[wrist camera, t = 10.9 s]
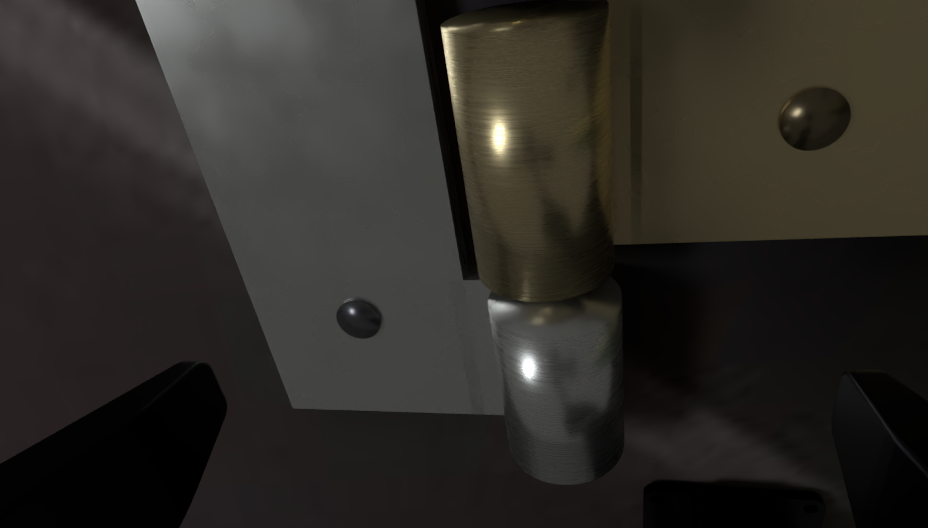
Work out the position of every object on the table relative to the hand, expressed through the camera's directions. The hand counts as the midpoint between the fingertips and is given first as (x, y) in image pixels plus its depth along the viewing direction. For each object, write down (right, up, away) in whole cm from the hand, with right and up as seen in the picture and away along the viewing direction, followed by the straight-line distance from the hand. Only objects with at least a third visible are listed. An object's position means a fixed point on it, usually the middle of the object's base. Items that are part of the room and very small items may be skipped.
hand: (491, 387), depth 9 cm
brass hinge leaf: (+6, +6, +8) cm, 12 cm away
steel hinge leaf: (-2, +6, +10) cm, 12 cm away
